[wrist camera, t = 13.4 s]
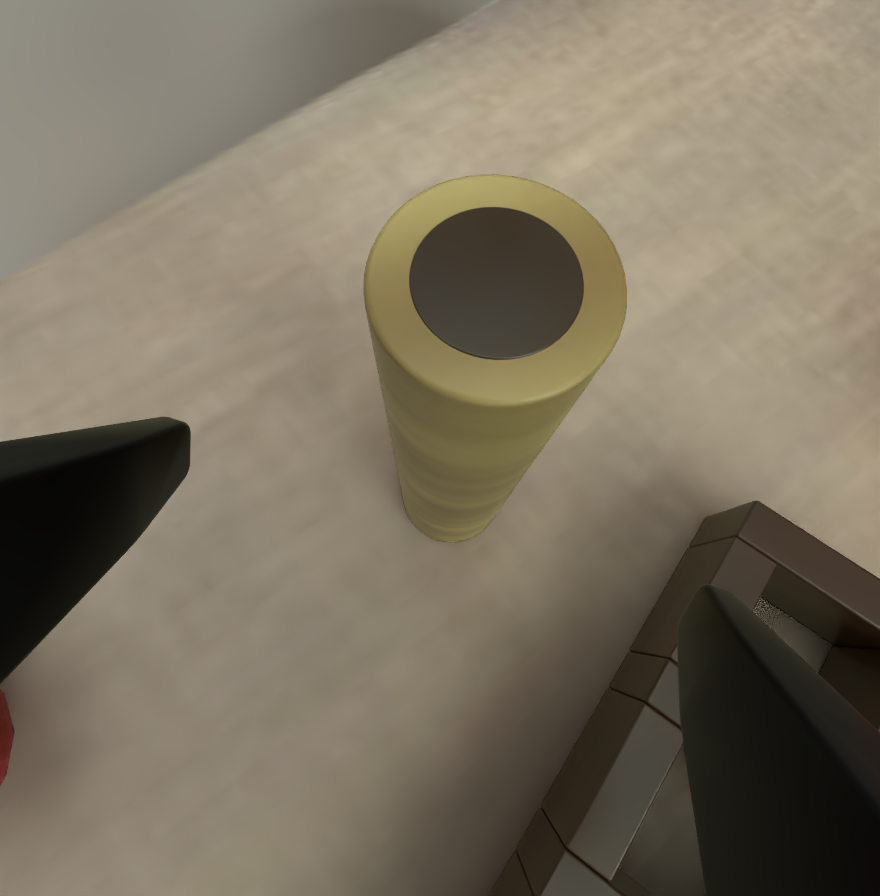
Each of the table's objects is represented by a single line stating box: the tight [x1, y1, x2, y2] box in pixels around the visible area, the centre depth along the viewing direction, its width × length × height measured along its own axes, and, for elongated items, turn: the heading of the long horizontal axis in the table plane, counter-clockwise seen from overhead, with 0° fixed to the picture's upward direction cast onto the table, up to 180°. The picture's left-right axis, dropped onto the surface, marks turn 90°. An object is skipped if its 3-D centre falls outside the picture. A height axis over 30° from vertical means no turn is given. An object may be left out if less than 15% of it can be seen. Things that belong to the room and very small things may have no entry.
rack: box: [489, 501, 880, 896], centre depth 15 cm, size 17×6×3 cm, turn 145°
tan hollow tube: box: [364, 175, 627, 542], centre depth 13 cm, size 3×3×12 cm
